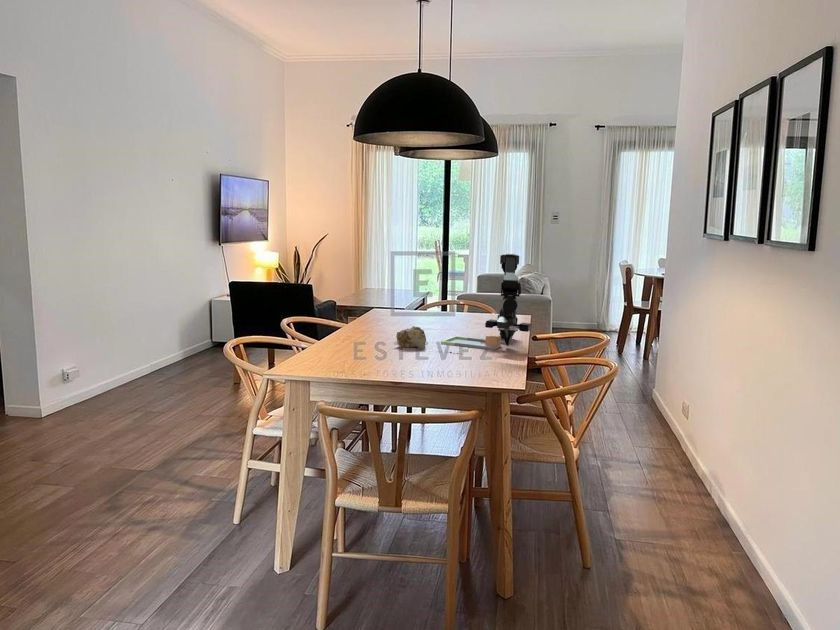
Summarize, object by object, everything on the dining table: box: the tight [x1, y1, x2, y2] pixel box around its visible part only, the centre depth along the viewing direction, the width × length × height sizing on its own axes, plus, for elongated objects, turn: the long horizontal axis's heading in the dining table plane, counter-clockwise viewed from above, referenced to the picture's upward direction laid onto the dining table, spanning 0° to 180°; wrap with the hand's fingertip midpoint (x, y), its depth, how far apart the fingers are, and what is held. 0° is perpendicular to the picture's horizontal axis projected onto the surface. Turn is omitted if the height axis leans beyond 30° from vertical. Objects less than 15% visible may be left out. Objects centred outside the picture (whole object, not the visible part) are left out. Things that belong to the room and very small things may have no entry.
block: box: [484, 333, 502, 349], centre depth 266 cm, size 5×5×4 cm
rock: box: [396, 325, 427, 350], centre depth 268 cm, size 12×7×10 cm, turn 72°
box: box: [440, 335, 506, 351], centre depth 271 cm, size 15×24×3 cm, turn 63°
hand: (507, 345), depth 264 cm, fingers closed
